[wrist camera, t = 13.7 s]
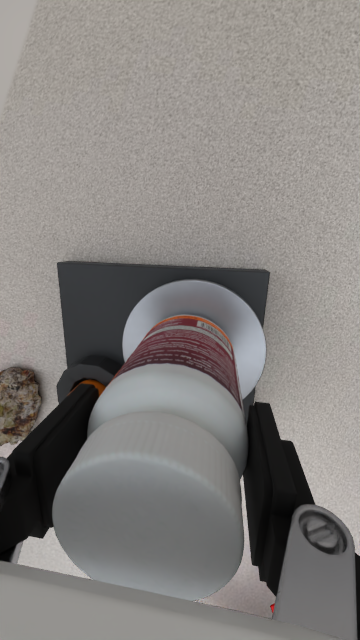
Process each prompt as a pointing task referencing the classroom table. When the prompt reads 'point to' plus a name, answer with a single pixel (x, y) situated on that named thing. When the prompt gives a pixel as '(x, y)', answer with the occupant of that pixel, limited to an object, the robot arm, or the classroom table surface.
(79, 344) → the scale
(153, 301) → the weighing pan
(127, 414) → the pill bottle
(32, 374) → the mineral rock
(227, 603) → the classroom table surface
